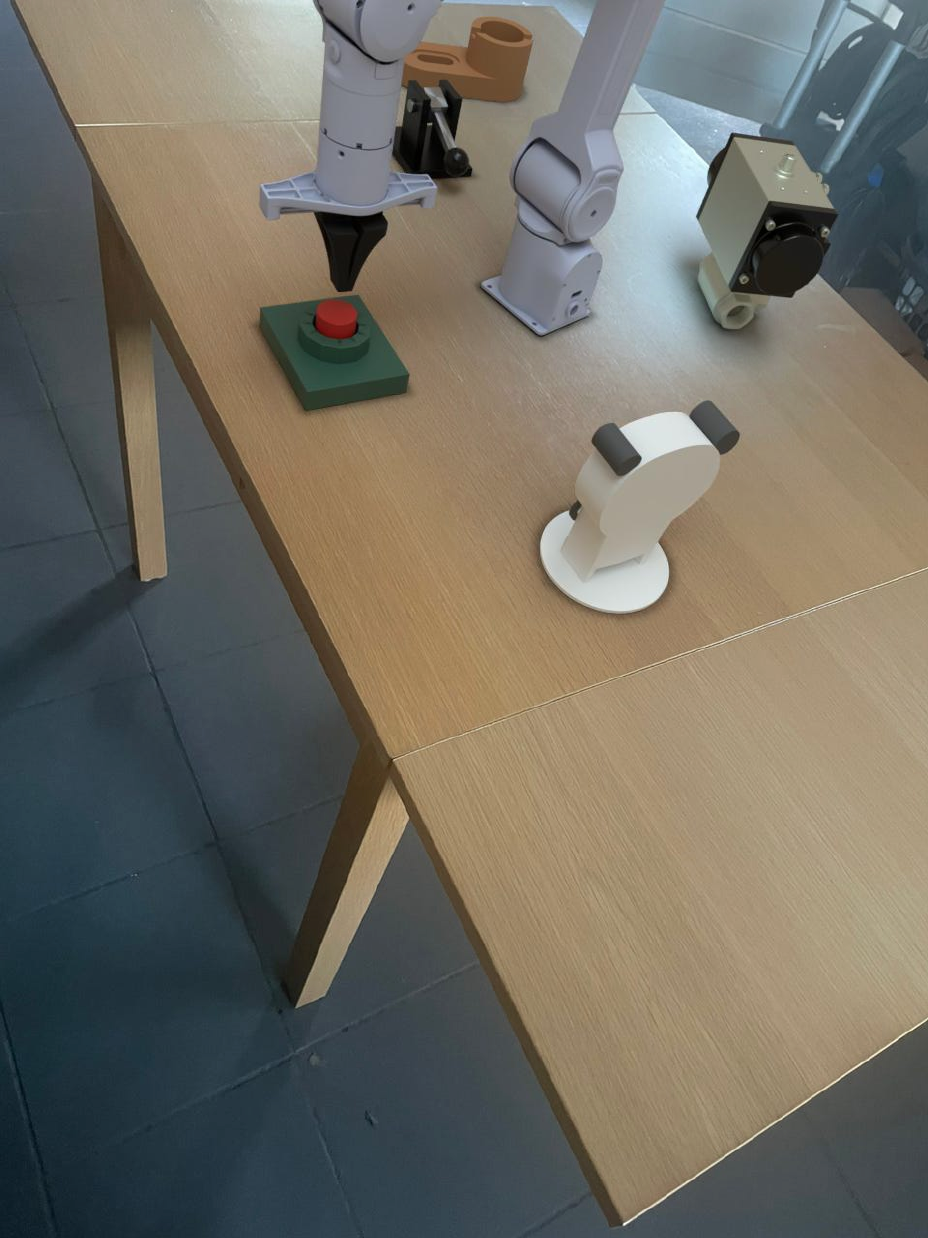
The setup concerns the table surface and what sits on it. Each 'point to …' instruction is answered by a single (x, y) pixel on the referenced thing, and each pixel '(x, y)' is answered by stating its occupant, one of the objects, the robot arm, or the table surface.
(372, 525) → the table surface
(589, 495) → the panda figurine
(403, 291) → the table surface
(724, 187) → the ball valve
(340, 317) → the button
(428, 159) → the bracket
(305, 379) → the button box
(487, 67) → the bracket
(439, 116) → the lever
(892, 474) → the table surface
